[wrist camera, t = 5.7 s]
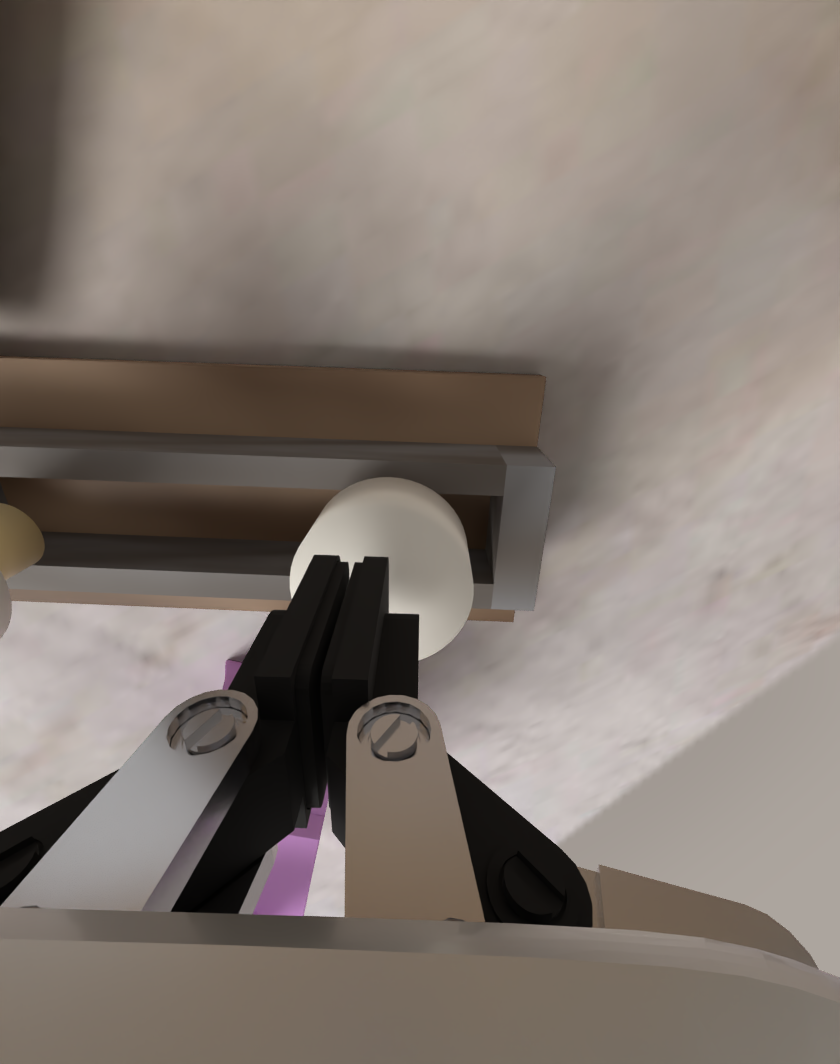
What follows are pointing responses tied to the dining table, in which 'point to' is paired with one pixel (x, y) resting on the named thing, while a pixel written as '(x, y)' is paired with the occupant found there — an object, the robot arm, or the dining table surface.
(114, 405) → the mount
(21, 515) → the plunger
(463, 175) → the dining table surface
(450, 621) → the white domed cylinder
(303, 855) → the toy chair
